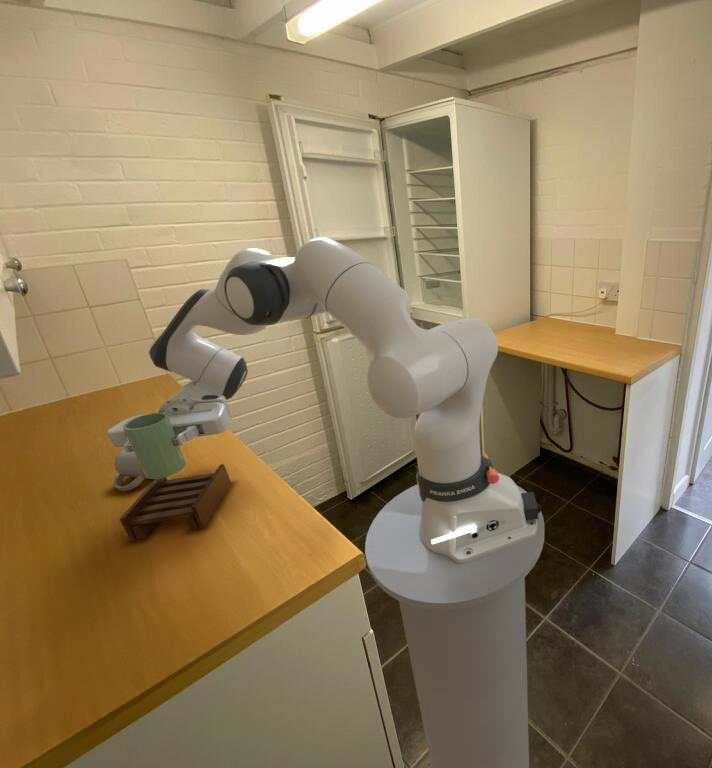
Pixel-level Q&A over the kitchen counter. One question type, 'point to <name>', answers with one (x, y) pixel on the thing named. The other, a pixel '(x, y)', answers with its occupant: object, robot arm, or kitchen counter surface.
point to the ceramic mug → (128, 470)
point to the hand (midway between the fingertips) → (153, 445)
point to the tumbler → (155, 445)
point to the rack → (176, 502)
